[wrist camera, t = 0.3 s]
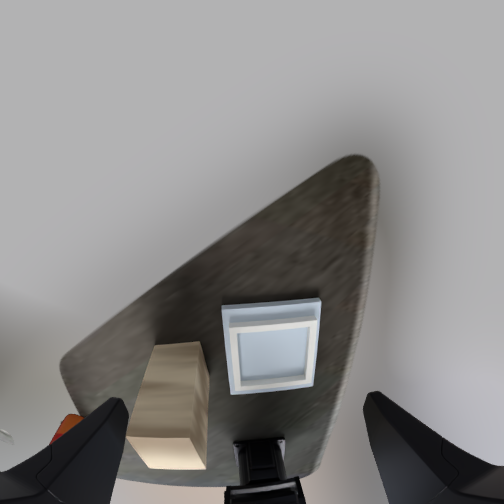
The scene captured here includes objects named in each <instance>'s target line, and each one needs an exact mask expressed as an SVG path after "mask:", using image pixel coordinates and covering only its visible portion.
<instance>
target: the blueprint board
mask: <svg viewBox="0 0 504 504" xmlns="http://www.w3.org/2000/svg"><path fill="white" fill-rule="evenodd" d="M320 313H321V300H320V299H319V298H309V299H299V300H288V301H276V302H263V303H249V304H234V305H222V319H223V329H224V339H225V348H226V358H227V367H228V375H229V384H230V392H231V395H235V394H250V393H262V392H272V391H281V390H289V389H297V388H304V387H310V386H313V381H314V373H315V365H316V356H317V346H318V336H319V325H320Z"/></svg>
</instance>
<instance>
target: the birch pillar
mask: <svg viewBox="0 0 504 504" xmlns="http://www.w3.org/2000/svg"><path fill="white" fill-rule="evenodd" d="M209 378H210V376H209V372H208V369H207V365H206V362H205V358H204V355H203V351H202V347H201V344H200V341H197V342H187V343H177V344H165V345H155V346H154V349H153V352H152V354H151V357H150V360H149V363H148V366H147V369H146V372H145V375H144V378H143V381H142V384H141V387H140V390H139V393H138V397H137V400H136V403H135V406H134V409H133V413H132V416H131V419H130V423H129V426H128V430H127V433H126V438H127V439H128V440H129V442H130V443H131V445H132V446H133V447H134V449H135V450H136V451H137V453H138V454H139V455H140V457H141V458H142V459H143V461H144V462H145V463H146V464H147V466H148V467H149V468H155V469H206V454H207V422H208V398H209Z"/></svg>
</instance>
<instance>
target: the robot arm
mask: <svg viewBox="0 0 504 504" xmlns="http://www.w3.org/2000/svg"><path fill="white" fill-rule="evenodd" d="M363 413H364V418H365V422H366V427H367V432H368V436H369V442H370V446H371V449H372V452H373V455H374V458H375V461H376V464H377V466H378V470H379V473H380V476H381V479H382V482H383V485H384V488H385V491H386V495H387V497H388V501H389V504H504V466H496V465H492V464H490V463H487V462H485V461H483V460H481V459H479V458H477V457H475V456H473V455H471V454H469V453H467V452H466V451H464V450H462V449H460V448H458V447H457V446H455V445H454V444H452V443H451V442H449V441H448V440H446V439H445V438H442V436H440V435H439V434H438V433H436V432H435V431H433V430H432V429H431V428H429V427H428V426H426V425H425V424H423V423H422V422H421V421H419V420H418V419H417V418H415V417H414V416H412V415H411V414H410V413H408V412H407V411H405V410H404V409H403V408H401V407H400V406H398V405H397V404H396V403H395V402H393V401H392V400H390V399H389V398H388V397H386V396H385V395H384V394H382V393H381V392H379V391H374V392H370V393H368V394H367V397H366V400H365V403H364V406H363ZM128 419H129V413H128V410H127V408H126V406H125V404H124V402H123V400H122V399H121V398H116V397H111V398H109V399H108V400H107V401H106V402H104V403H103V404H102V405H101V406H99V407H98V408H97V409H95V410H94V411H93V412H92V413H90V414H89V415H88V416H86V417H85V418H84V419H83V420H81V421H80V422H79V423H77V424H76V425H75V426H73V427H72V428H71V429H69V430H68V431H67V432H66V433H64V434H63V435H62V436H60V437H59V438H58V439H56V440H55V441H54V442H52V444H50V445H48V446H47V447H46V448H44V449H43V450H41V451H40V452H38V453H37V454H35V455H34V456H32V457H31V458H29V459H27V460H25V461H24V462H22V463H20V464H18V465H16V466H15V467H13V468H11V469H9V470H7V471H4V472H0V504H110V501H111V496H112V492H113V488H114V484H115V480H116V476H117V472H118V468H119V465H120V461H121V457H122V454H123V449H124V444H125V437H126V431H127V425H128ZM233 447H234V453H235V459H236V465H237V466H238V467H239V476H240V486H226V491H225V492H224V498H225V500H224V504H306V502H305V497H304V494H303V490H302V487H301V483H300V480H299V476H297V477H294V478H290V479H287V476H286V471H285V467H284V462H283V461H284V451H285V438H274V439H265V440H255V441H241V442H234V443H233Z"/></svg>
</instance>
